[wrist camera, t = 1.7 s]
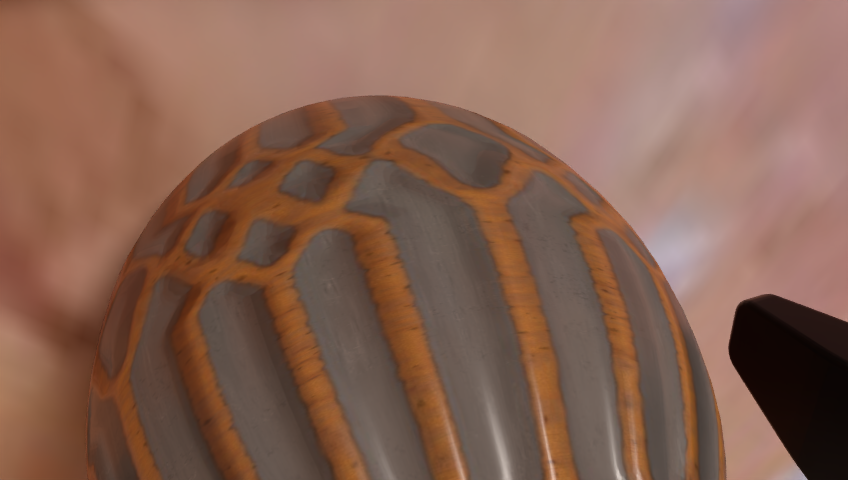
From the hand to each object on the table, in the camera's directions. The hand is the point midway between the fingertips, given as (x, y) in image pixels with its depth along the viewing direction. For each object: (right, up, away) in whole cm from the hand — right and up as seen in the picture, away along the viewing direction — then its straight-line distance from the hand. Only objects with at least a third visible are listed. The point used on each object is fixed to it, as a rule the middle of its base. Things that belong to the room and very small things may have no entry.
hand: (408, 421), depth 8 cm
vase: (-1, +2, +3) cm, 4 cm away
